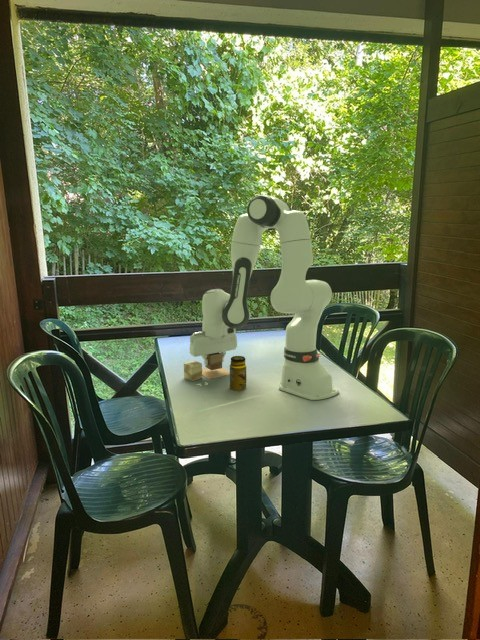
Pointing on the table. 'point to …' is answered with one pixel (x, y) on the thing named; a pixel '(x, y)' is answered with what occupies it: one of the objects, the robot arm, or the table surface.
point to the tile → (201, 385)
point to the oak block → (192, 370)
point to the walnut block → (214, 361)
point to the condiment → (238, 373)
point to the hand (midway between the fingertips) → (214, 363)
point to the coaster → (214, 373)
